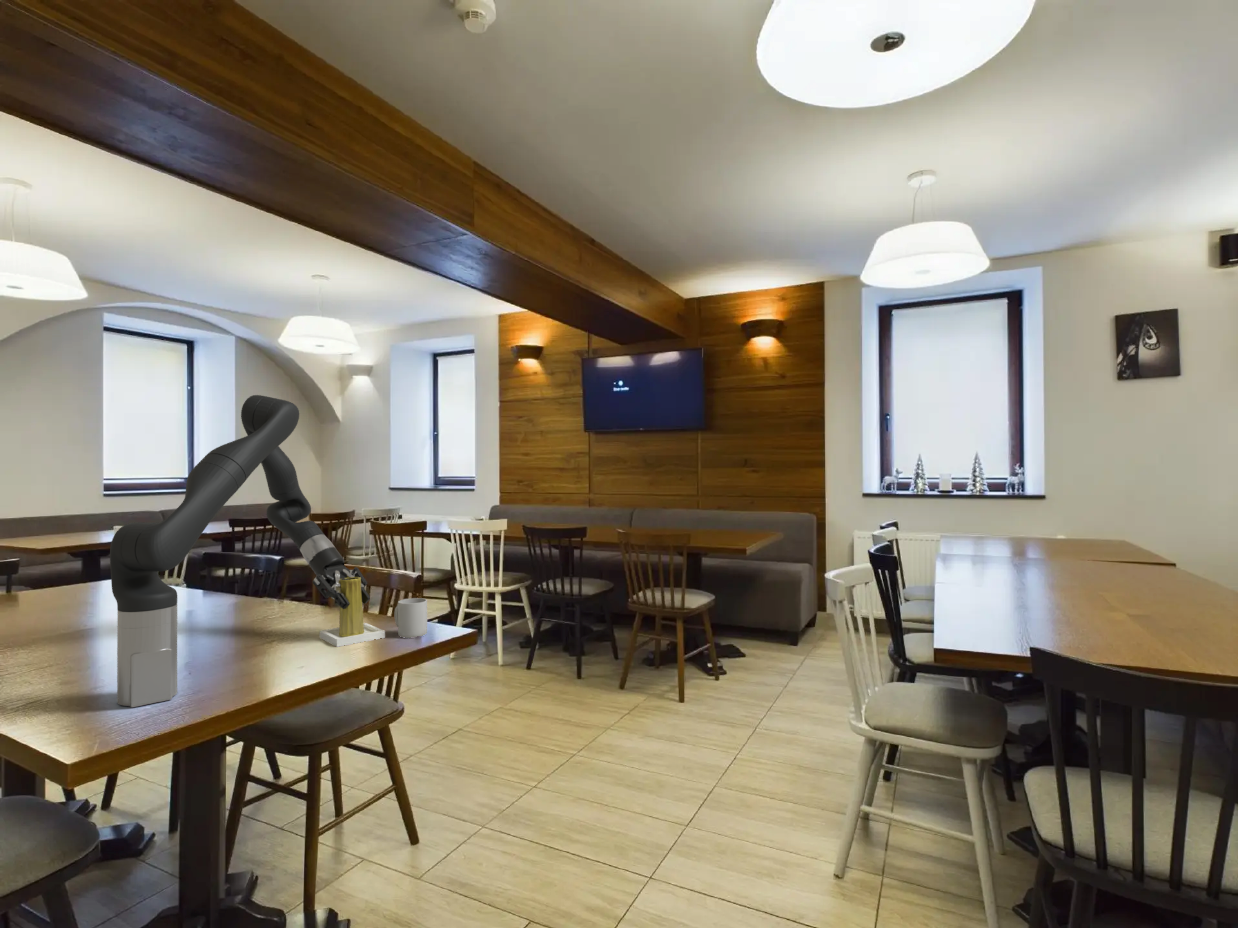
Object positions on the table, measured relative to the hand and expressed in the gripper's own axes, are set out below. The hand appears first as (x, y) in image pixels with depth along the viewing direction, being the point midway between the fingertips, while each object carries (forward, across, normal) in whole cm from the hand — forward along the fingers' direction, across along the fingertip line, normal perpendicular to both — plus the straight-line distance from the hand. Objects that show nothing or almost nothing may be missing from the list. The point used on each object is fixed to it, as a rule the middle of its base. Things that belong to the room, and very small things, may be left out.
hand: (357, 603), depth 165 cm
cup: (+13, -8, 0) cm, 16 cm away
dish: (+5, 0, -7) cm, 9 cm away
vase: (+4, 0, -7) cm, 8 cm away
